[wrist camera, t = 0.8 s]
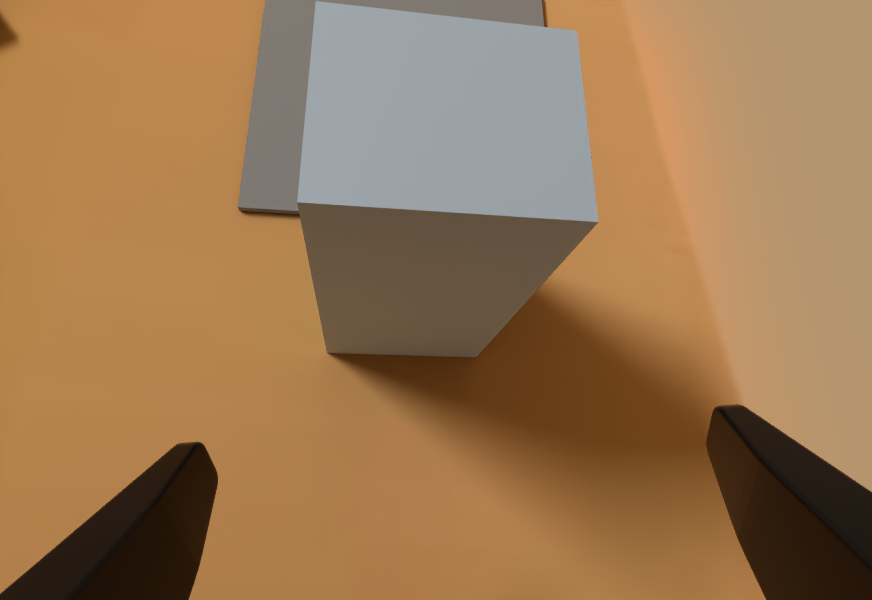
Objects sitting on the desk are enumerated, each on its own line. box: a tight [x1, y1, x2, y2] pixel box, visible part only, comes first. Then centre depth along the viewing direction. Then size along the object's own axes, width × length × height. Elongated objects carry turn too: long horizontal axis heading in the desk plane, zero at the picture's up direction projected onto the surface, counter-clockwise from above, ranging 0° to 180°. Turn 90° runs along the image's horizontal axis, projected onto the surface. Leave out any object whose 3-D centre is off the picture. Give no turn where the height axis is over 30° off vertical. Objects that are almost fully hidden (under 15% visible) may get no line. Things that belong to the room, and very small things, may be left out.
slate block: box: [297, 1, 598, 357], centre depth 17 cm, size 5×6×12 cm
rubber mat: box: [238, 0, 544, 214], centre depth 26 cm, size 14×14×1 cm
